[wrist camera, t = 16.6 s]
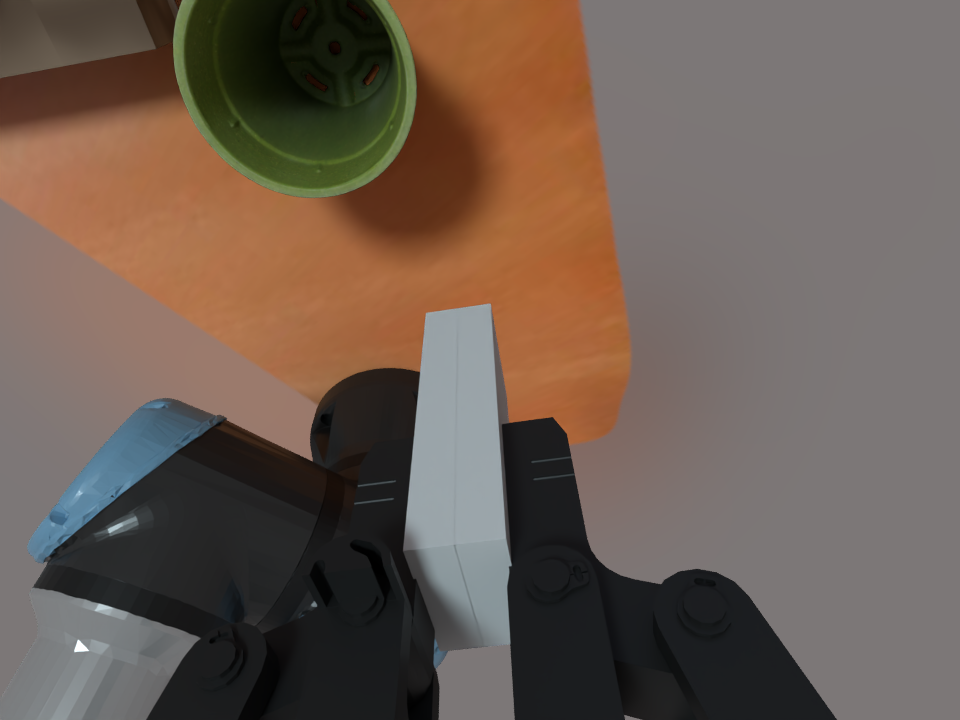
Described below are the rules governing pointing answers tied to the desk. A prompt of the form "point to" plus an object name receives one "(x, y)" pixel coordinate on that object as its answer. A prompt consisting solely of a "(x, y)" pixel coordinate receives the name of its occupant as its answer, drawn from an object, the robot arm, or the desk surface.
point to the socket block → (79, 31)
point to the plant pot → (297, 89)
